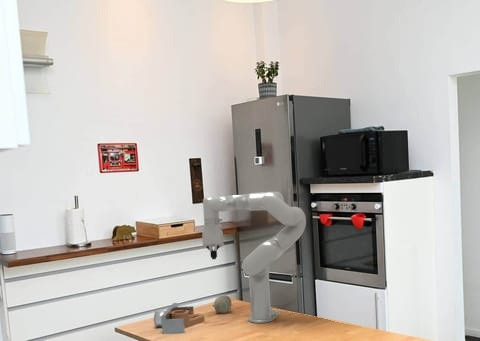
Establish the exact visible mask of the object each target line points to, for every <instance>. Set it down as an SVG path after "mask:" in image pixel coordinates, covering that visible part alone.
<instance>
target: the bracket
mask: <svg viewBox="0 0 480 341" xmlns="http://www.w3.org/2000/svg"><path fill="white" fill-rule="evenodd" d="M183 318H184V329H186V328H189V327H193V326H197V325H199V324H202V323H204V322H205V315H204V314H203V313H194V314H191V315H189V311H188V310H176V311H173V312H171V319H183Z"/></svg>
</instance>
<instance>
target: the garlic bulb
mask: <svg viewBox="0 0 480 341" xmlns="http://www.w3.org/2000/svg"><path fill="white" fill-rule="evenodd" d="M212 307H213V308H214V311H215V312H216V313H217V314H218V313H219V314H227V313H228V312H230V311H232V299H231V298H230V296H229V295H226V294H224V295H219V296H218V297H216V298H215V300H214V302H213V304H212Z"/></svg>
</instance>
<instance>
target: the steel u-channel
mask: <svg viewBox="0 0 480 341" xmlns="http://www.w3.org/2000/svg"><path fill="white" fill-rule="evenodd" d="M176 310H188V311H189V315H191V314H195V308H194V305H191V306H178V302H173V303H172V304H171V305H170V306H169V307H168V308H167V309H166V310H158V311H155V312H154V315H153V324H154V327H156V328H157V327H159V328H160V327H161V334H163V335H164V334H185V329H186V328H184V318H183V319H171V312H173V311H176Z"/></svg>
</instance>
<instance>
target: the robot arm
mask: <svg viewBox="0 0 480 341" xmlns="http://www.w3.org/2000/svg"><path fill="white" fill-rule="evenodd" d="M202 206H203V208H202V210H203V223H204V224H203V225H202V233H201V234H202V240H201V241H202V248H204V249H207V250H208V251H209V252H210V253H209V254H210V258H211V260H217V258H218V252H217V251H218V250H219V248H223V247H224V246H225V243H224V233H223V232H224V231H223V226H222V224H221V222H223V218H220V213H219V212H229V211H230V212H231V211H237V210H238V211H242V210H247V211H250V212H251V211H267V213H269V215H271V216H272V217H274V219H276V220H277V221H278V222H280V223H281V224H282V225H284V227H283V228H282V229H281V230H279V231H278V232H277V233H276V234H275V235H274V236H273V237H271V238H270V239H267V240H264V242H261V243H260V244H259V245H258V246H257V247H256V248H255V249H253V251H251V252H250V253H249V254H248V255H247V256H246V257H245V258H244V259H243V260H242V264H241V269H242V271H243V273H244V275H246V276H247V277H249V278H248V284H249V299H250V301H249V302H250V314H251V315H250V316H248V318H247V319H248V322H250V323H255V324H265V323H270V322H273V321H274V320H276V319H275V316H278V317H279V316H281V311H279V310H273V309H272V308H271V294H270V293H271V292H270V265H271V264H272V263H273V262H275V260H277V259H279V258H280V257H281V256H282V255H284V253H285V252H286V251H287V250H288V249H289V248H290V247H292V245H294V243H295V242H297V241H298V240H299V239H300V238H301V236H302V235H303V233H304V232H305V230H306V229H305V228H306V225H307V218H306V214H305V212H304V211H303V209H302V208H301V207H298V206H290V205H289V204H287V203H286V202H285V198H284V195H283V194H282V193H280V192H279V191H263V192H249V193H247V194H245V193H244V194H234V195H233V194H232V195H221V196H220V195H219V196H217V197H216V196H210V197H204V198H203V199H202ZM213 246H214V249H213Z"/></svg>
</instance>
